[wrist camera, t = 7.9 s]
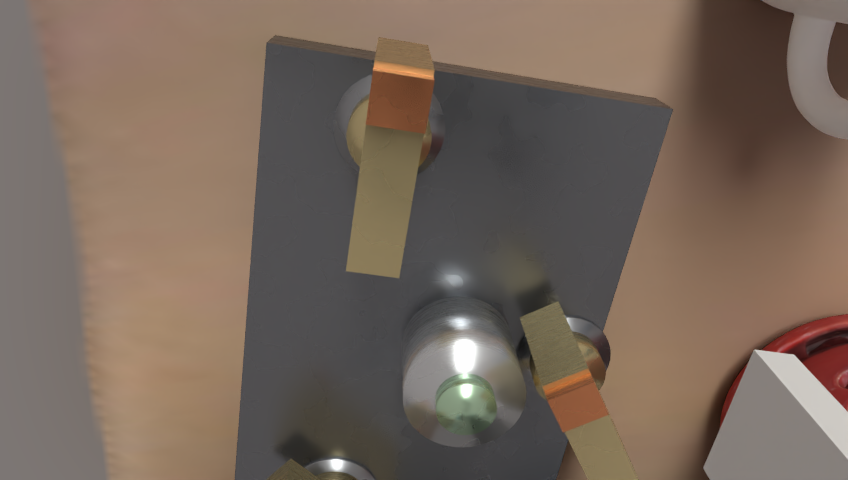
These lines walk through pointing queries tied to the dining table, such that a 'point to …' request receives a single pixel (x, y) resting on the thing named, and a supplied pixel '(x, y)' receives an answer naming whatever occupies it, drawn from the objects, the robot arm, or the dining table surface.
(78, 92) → the dining table surface
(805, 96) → the mug
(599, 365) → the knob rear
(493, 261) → the levelling plate
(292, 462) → the knob
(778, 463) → the robot arm
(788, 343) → the plant pot
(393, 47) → the knob
